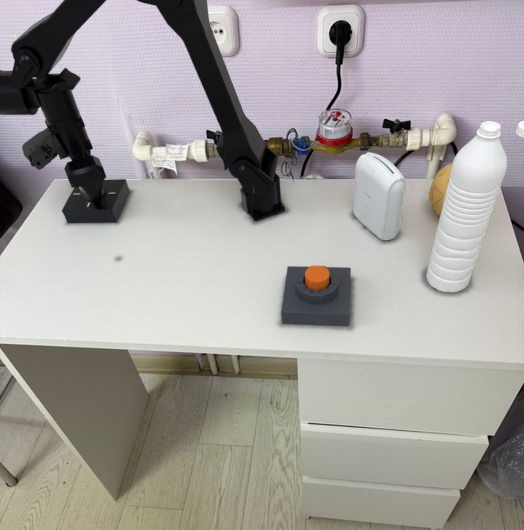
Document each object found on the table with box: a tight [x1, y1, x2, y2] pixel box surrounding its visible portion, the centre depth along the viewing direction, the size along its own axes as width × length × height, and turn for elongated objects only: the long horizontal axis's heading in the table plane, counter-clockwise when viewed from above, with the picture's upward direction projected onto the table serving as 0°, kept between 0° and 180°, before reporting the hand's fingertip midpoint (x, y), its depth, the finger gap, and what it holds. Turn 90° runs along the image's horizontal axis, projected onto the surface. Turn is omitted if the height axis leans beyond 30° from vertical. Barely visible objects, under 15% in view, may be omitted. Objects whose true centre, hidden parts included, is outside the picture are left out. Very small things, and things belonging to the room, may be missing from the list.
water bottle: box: [425, 120, 524, 294], centre depth 68 cm, size 9×6×25 cm
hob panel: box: [61, 178, 131, 224], centre depth 97 cm, size 10×10×3 cm
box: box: [280, 265, 352, 327], centre depth 76 cm, size 10×10×4 cm
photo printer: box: [352, 151, 407, 241], centre depth 83 cm, size 10×4×12 cm, turn 26°
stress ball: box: [427, 162, 453, 217], centre depth 84 cm, size 10×10×10 cm
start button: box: [305, 265, 329, 290], centre depth 74 cm, size 4×4×2 cm
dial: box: [79, 186, 105, 201], centre depth 94 cm, size 4×4×4 cm
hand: (92, 192), depth 96 cm, fingers open, 8 cm apart
